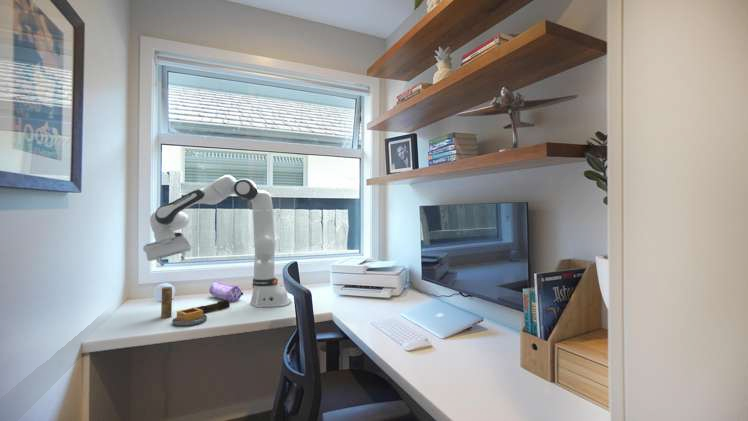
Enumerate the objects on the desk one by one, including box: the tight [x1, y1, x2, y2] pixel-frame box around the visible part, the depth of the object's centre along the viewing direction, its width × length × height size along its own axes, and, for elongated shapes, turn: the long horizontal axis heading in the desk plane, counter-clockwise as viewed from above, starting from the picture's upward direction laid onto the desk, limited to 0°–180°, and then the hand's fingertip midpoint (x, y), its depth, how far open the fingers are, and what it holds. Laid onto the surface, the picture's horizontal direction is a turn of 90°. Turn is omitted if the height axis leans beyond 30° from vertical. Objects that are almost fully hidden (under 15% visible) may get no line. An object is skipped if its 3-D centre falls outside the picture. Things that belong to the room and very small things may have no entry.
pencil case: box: [209, 280, 244, 303], centre depth 193 cm, size 22×9×10 cm, turn 57°
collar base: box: [171, 307, 208, 328], centre depth 152 cm, size 14×14×5 cm
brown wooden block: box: [160, 286, 173, 319], centre depth 158 cm, size 4×4×14 cm
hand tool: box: [195, 299, 231, 313], centre depth 168 cm, size 19×4×5 cm, turn 139°
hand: (173, 262), depth 169 cm, fingers open, 8 cm apart
